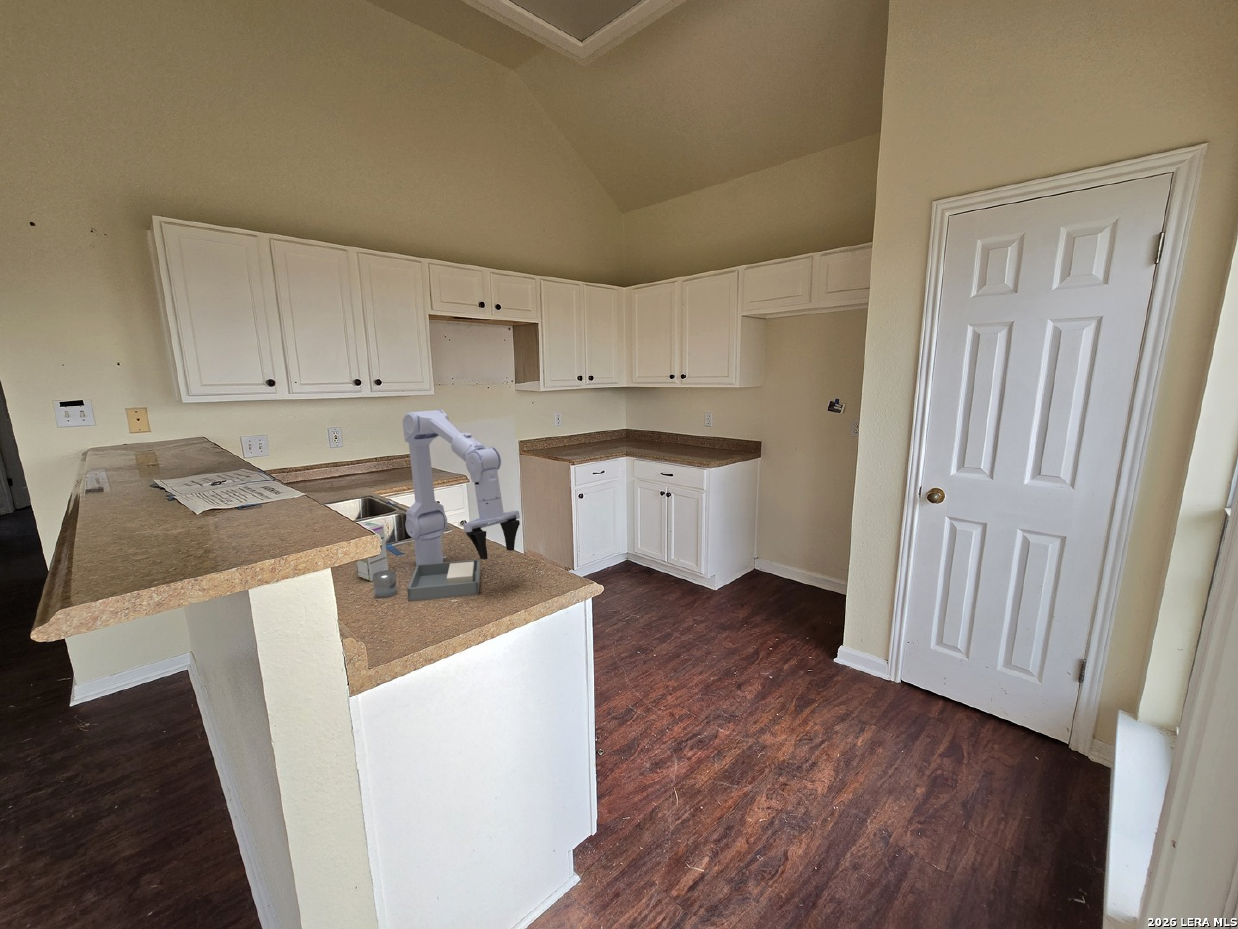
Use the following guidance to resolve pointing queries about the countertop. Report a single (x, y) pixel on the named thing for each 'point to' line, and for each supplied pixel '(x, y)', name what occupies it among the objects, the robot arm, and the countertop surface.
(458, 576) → the block
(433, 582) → the tote
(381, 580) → the metal can
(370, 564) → the syrup box
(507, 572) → the countertop surface
